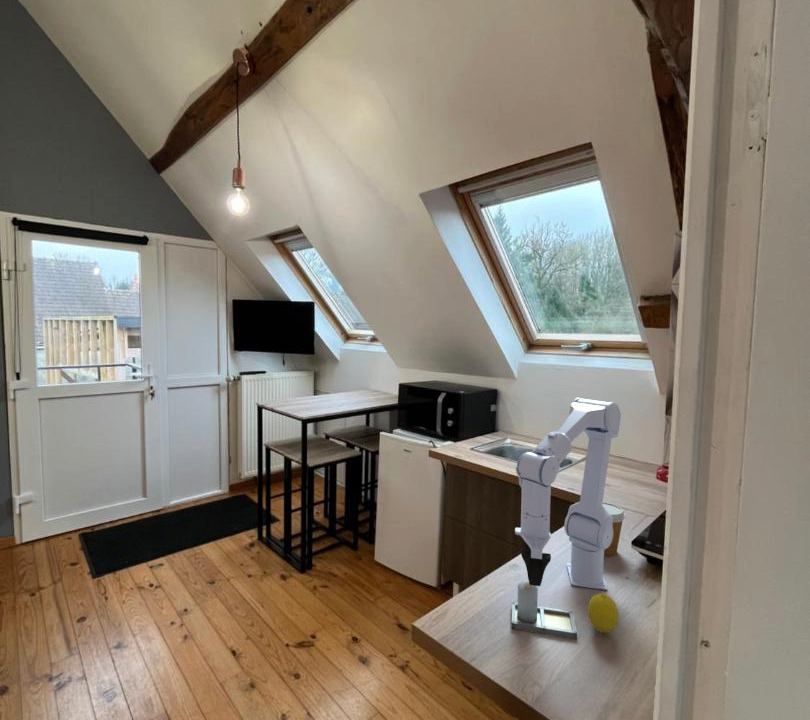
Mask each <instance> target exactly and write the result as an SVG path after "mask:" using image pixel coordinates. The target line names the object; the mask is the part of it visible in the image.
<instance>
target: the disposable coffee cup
mask: <svg viewBox="0 0 810 720" xmlns="http://www.w3.org/2000/svg"><path fill="white" fill-rule="evenodd" d="M602 506H603V507H604V508H605V509H606V511H607V512H608V513H609V514H610V515H611V516H612V518H613V539H612V542H611V544H610V546H609V547H608V548H607V549H605V550H604V556H606V557H607V556H608V557H609V556H611V557H613V556H616V555H617V552H618V547H619V542H620V536H621V532H622V526H623V521H624V519H625V517H626V514H625V512H624V509H623V508H622V507H621V506H619V505H618V504H617V505H616V504H614V503H611V502H606V501H603V503H602Z"/></svg>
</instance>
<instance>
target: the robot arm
mask: <svg viewBox="0 0 810 720" xmlns="http://www.w3.org/2000/svg"><path fill="white" fill-rule="evenodd" d="M568 414H569V415H568V417H567V418H566V419H565V421H564V422H563V423H562V425H560V428H559V429H558V430H557V431H551V432H550V431H549V433H548V434H547V435H546V436H545V437H543V439H542V440H541V441H540V442H539V444H537V446H535V448H534V449H533V450H532V451H527V452H524V453H523V454H521V455H520V456H519V458H518V460H517V464H516V466H515V473H516V475H517V477H518V485H519V487H520V488H521V498H520V499H521V503H520V505H521V506H520V510H521V511H520V527H515V528H514V534H515V535H516V536H520V537H521V538H522V540H523V542H524V546H525V548H521V549H520V555H521V557H522V560H523V562H524V565H525V568H526V573H527V579H528V582H529V584H530V585H534V586H537V587H541V585H542V582H543V578H544V574H545V571H546V568H547V566H548V565H549V563H550V562H551V560H552V556H551V553H547V552H543V550H544V548H545V546H546V545H547V544H548V542H549V541H550V539H551V532H550V531H551V530H550V528H551V527H550V526H551V525H550V523H551V489H552V485H553V483H555V481H556V479H557V476H558V472H559V471H560V468H561V466H560V465H561V463H563V461H564V460H565V459H566V458H567V457H568V456H569V454H570V453H571V452H572V449H573V446H572V443H573V442H574V441H575V439H576V438H578V436H580V435H581V434H582V433H583V432H584V433H585V434H586V436H587V438H588V443H587V444H588V445H587V450H586V456H585V463H584V470H583V471H584V472H583V478H582V484H581V492H580V497H579V501H578V502H575V503H574V504H571V505H570V506H569V508H568V512H567V515H566V517H565V519H564V526H563V528H564V532H565V534H566V535H567V537H569V538H568V540H569V542H571V549H570V550H571V553H570V562H567V563H566V568H567V571H568V576H569V581H570V585H571V586H575V587H581V588H582V587H583V588H587V589H589V588H590V589H598V590H603V591H607V590H608V585H607V583H606V581H605V577H604V563H605V562H604V557H605V555H604V550H605V549H607V548H608V547H609V546H610V544H611V542H612V539H613V518H612V516H611V515H610V514H609V513H608V512H607V511H606V509H605V508H604V507H603V506H602V503H603V502H604V495H605V494H604V493H605V486H606V479H607V474H608V465H609V459H610V451H611V444H612V439H615V438H618V435H619V432H620V425H621V418H622V413H621V410H620V406H618V403H616V402H615V401H610V402H608V401H601V400H595V399H589V398H588V399H587V398H582V397H576V398H575V399H574V400H573V401H572V402H571V404H570V405H569V413H568Z"/></svg>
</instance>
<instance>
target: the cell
mask: <svg viewBox="0 0 810 720" xmlns="http://www.w3.org/2000/svg"><path fill="white" fill-rule="evenodd" d="M538 591H539V588H538V586H534V585H530V584H529V581H522V582H520V583H518V585H517V603H518V604H517V618H518V619H519V620H520V621H521V622H523V623H529V624H534V623H536V622H537V606H538V597H539V595H538V594H539V592H538Z"/></svg>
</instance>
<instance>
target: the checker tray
mask: <svg viewBox="0 0 810 720" xmlns="http://www.w3.org/2000/svg"><path fill="white" fill-rule="evenodd" d="M517 604H518V602H511V629H513V630H519V631H524V632H531V633H535V634H536V633H537V634H544V635H549V636H555V637H560V638H561V637H562V638H567V639H572V640H573V639H574V640H578V631H577V627H576V621H575V617H574V613H573V611H572V610H566V609H561V608H560V609H559V608H554V607H553V608H551V607H547V606H542V605H539V606H538V605H537V622H536V623H534V624H529V623H523V622H521V621H520V620H519V619H518V618H517Z"/></svg>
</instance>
